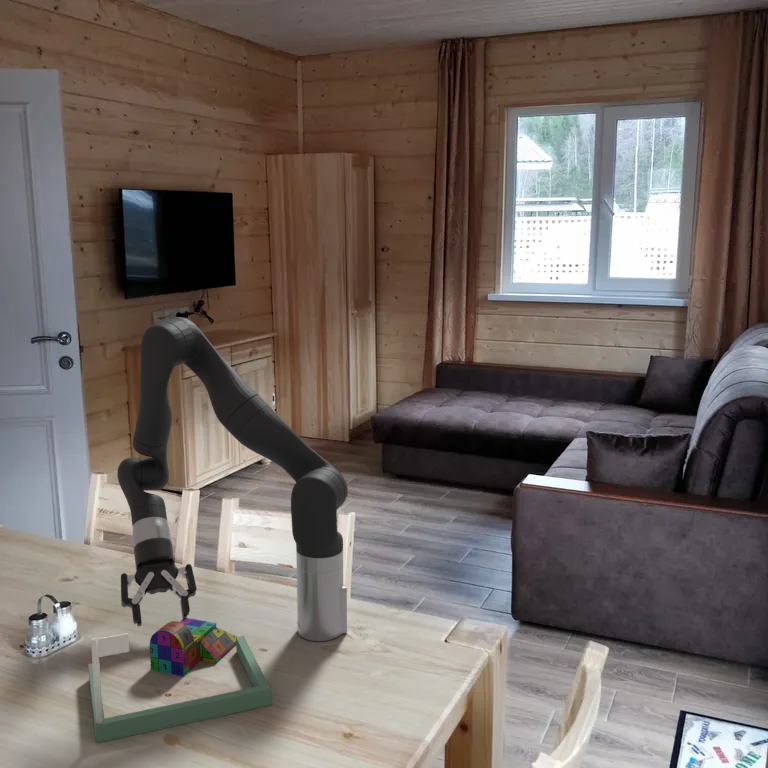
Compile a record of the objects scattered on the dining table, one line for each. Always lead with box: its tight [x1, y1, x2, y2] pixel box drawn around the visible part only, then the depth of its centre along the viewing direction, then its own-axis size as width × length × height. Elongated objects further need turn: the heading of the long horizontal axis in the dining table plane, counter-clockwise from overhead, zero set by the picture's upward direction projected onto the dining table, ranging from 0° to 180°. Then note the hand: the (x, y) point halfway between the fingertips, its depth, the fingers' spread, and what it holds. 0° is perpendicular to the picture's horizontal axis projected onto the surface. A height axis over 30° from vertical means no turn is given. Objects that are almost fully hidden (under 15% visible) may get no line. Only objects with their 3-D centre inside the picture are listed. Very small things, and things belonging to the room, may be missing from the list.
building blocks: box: [149, 617, 238, 677], centre depth 154 cm, size 15×10×8 cm
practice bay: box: [88, 632, 272, 744], centre depth 141 cm, size 28×20×17 cm
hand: (162, 621), depth 158 cm, fingers open, 8 cm apart
